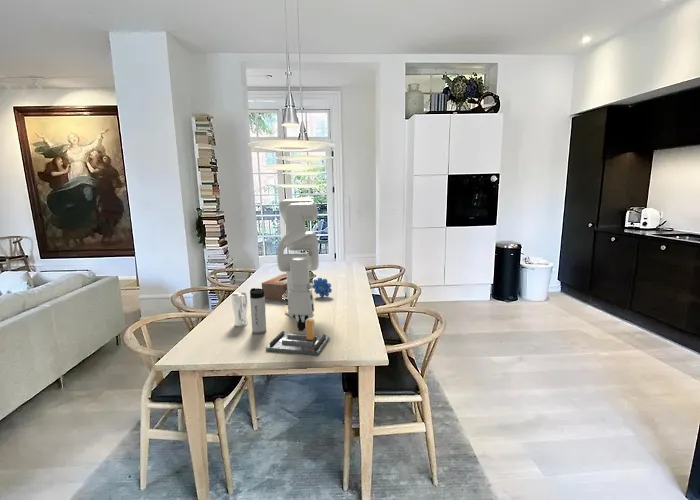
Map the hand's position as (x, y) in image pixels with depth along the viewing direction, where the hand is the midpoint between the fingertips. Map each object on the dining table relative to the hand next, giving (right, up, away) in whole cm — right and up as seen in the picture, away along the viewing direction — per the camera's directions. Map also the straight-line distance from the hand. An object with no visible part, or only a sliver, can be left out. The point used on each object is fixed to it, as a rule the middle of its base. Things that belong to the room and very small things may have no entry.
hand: (301, 330), depth 151 cm
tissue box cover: (-21, +5, +74) cm, 78 cm away
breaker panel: (-1, -6, +1) cm, 7 cm away
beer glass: (-33, -3, +26) cm, 42 cm away
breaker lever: (+4, -5, 0) cm, 6 cm away
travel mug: (-22, -4, +16) cm, 27 cm away
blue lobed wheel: (+3, +5, +67) cm, 67 cm away
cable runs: (-1, -5, +1) cm, 5 cm away
